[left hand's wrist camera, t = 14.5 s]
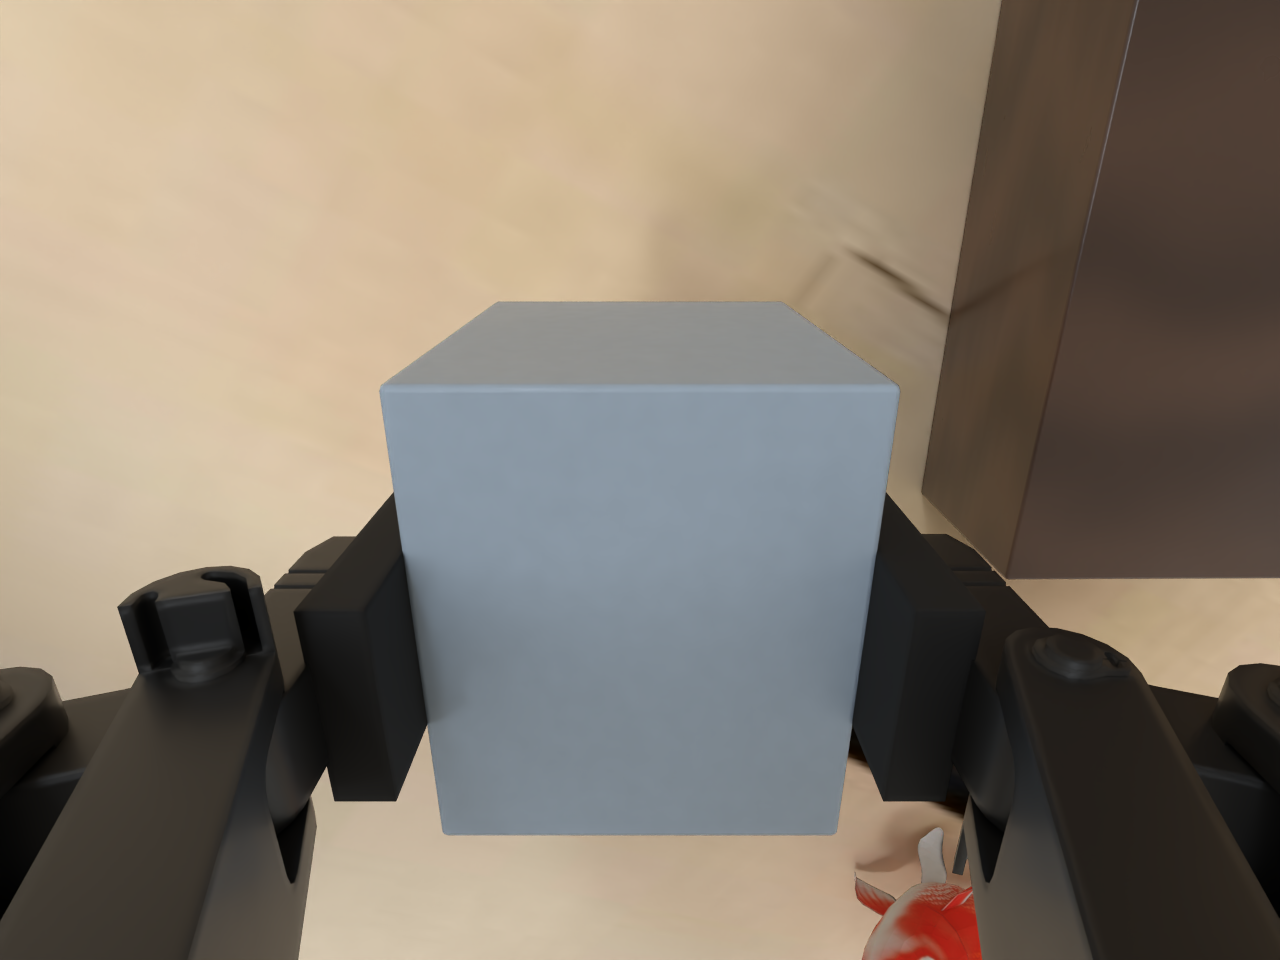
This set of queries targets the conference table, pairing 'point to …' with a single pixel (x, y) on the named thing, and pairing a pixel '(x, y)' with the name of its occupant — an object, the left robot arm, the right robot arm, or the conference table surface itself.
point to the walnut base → (1120, 297)
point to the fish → (923, 914)
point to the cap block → (639, 564)
